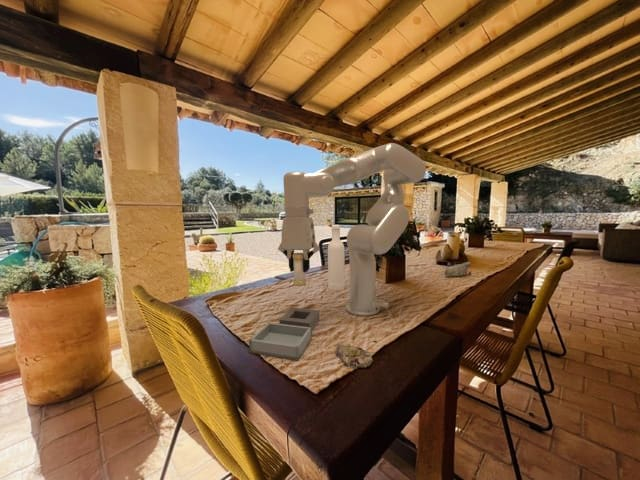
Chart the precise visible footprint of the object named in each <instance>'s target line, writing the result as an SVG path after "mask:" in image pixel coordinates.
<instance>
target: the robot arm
mask: <svg viewBox="0 0 640 480" xmlns="http://www.w3.org/2000/svg"><path fill="white" fill-rule="evenodd" d="M425 164H426V163H425V162H424V161H423V159H421V158H420V157H419V156H417V155H416V154H414V153H413V152H412V151H410V150H408V149H407V148H406V147H404V146H402V145H400V144H398V143H393V142H390V143H386V144H383V145H380V146H379V145H378V146H376V147H373V148H370V149H368V150H366V151H364V152H361V153H358V154H355V155H353V156H350V157H347V158H346V159H343V160H340V161H339V162H336V163H334V164H331V165H329V166H327V167H325V168H322V169H319V170H317V171H314V172H302V171H290V172H286V173H285V174H284V175H283V197H284V198H283V199H284V200H283V201H284V202H283V203H284V216H285V217H284V218H282V225H281V242H280V244H279V246H278V248H277V249H278V251H280V252H281V253H282V254H283V255H284V257H286V259H287V260H288V268H289V271H290V273H292V272H293V273H294V265H293V256H292V254H293V253H295V251H302V253H303V254H304V260H303V272H305V274H306V273H307V272H309V270H310V268H311V266H310V261H311V260H310V259H311V257H313V255H314V254H316V253H318V252H319V251H320V250H321V249H320V246H319V245H318V243H317V242H316V240H317V239H316V232H315V231H316V230H315V224H314V219H313V217H311V214H312V215H314V212H315V211H314V209H313V208H311V207H310V198H321V197H326V196H329V195H330V194H331V193H333V191H334V189H335V188H338V187H343V186H349V185H352V184H354V183H358V182H360V181H362V180H364V179H366V178H368V177H371V176H373V175H375V174H378V173H381V172H383V175H382V176H383V182H384V183H383V184H384V189H383V190H384V191H383V193H382V195H381V196H380V197H379V198H378V200H377V201H375V203H374V204H373V206H371V208H370V209H369V211H368V212H367V215H366V222H367V224H356V225H354V226H353V227H351V228H350V229H349V230H348V232H347V235H346V245H347V249H348V256H349V259H348V260H349V302H347V303H346V304H345V311H347V312H348V313H350V314H352V315H355V316H360V317H361V316H362V317H364V316H365V317H366V316H373V315H377V314H379V312H380V310H381V308H383V309H388V308H389V302H386V301H385V300H381V299H380V300H379V299H378V296H377V293H376V292H377V291H376V288H377V287H376V285H377V284H376V283H377V274H376V273H377V272H376V271H377V263H376V257H375V255H377V256H378V255H379V256H381V255H383V254H386V253H387V252H389V250H391V248H392V247H394V244H395V243H396V242H397V241H398V239H399V238H400V237H401V235H402V234H403V233H404V231H405V230H406V228H407V226H408V224H409V221H410V213H409V212H410V211H409V209H408V208H407V207H406V205H404V203H405V199H406V198H405V193H404V188H403V185H407V184H415V183H418V182H421V180H423V179H424V177H425V176H426V172H427V168H426V165H425Z"/></svg>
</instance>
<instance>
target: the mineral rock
mask: <svg viewBox="0 0 640 480" xmlns="http://www.w3.org/2000/svg"><path fill="white" fill-rule="evenodd" d="M334 353H335V356H337V358H338V359H339V360H342V361H343V363H342V364H343V365H345V366H346V367H348V368H353V369H355V370H357V369H359V368H367V367H369V366H370V365H372V364H373V361H374V360H373V358H372V357H373V356H372V353H371V352H369V351H367V350H366V349H363V348H362V347H359V346H356V347H355V346H353V345H351V344H348V345H345V344H342V343H338V344H336V347H335V351H334Z"/></svg>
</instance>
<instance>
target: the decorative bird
mask: <svg viewBox="0 0 640 480" xmlns="http://www.w3.org/2000/svg"><path fill="white" fill-rule="evenodd" d="M470 264H471V262H470V261H465V262H463V263H458V264H455V265H450V266H447V267H446V268H445V271H444V277H445V278H446V279H447V278H449V277H450V276H452V277H460V276H462V275H468V276H472V271H470V272H469V265H470Z"/></svg>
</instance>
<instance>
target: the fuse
mask: <svg viewBox="0 0 640 480" xmlns="http://www.w3.org/2000/svg"><path fill="white" fill-rule="evenodd" d="M292 256H293V265H294V271H293V286H294V287H304V286H306V285H307V279H306V273H305V272H303V260H304V254H303V252H294V253H293V254H292Z"/></svg>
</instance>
